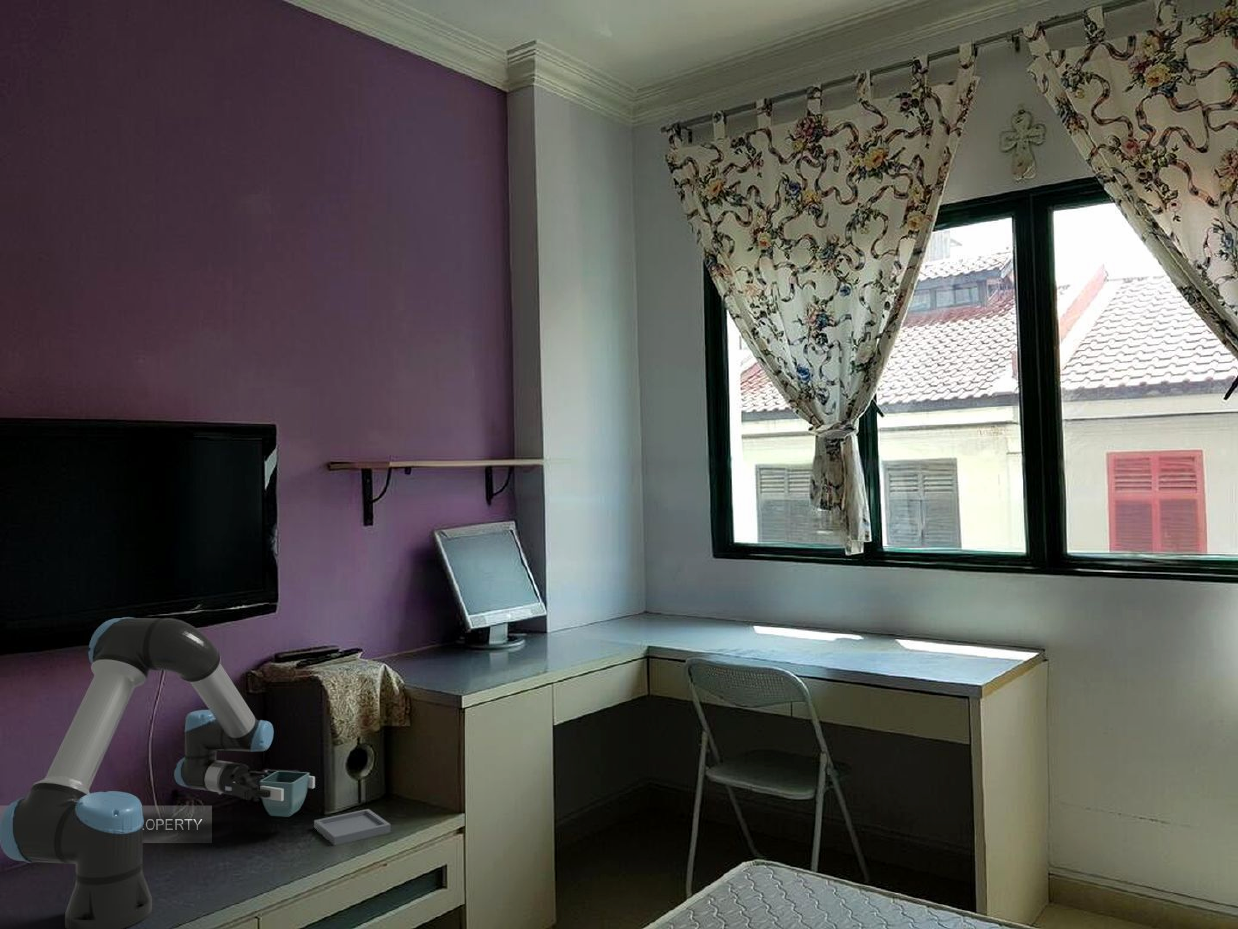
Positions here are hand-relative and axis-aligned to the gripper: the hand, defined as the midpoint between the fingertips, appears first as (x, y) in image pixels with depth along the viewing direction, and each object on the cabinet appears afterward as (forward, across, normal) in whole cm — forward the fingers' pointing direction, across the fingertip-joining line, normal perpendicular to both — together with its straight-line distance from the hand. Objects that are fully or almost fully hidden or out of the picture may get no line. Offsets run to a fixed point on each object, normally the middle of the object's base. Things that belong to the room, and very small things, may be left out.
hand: (298, 788), depth 234 cm
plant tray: (+10, -8, -11) cm, 17 cm away
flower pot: (-4, 0, -7) cm, 8 cm away
